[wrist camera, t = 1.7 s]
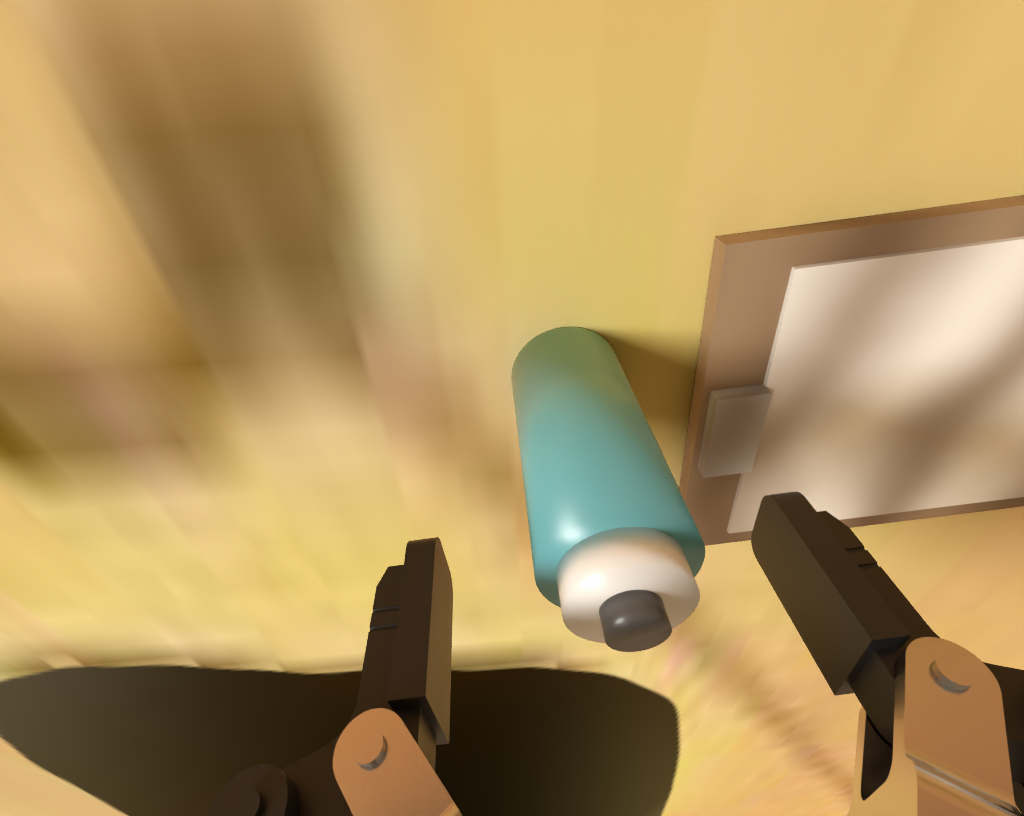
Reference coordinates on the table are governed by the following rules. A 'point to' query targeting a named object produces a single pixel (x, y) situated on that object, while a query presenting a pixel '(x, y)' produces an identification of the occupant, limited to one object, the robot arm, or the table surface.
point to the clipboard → (862, 369)
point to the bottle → (600, 496)
